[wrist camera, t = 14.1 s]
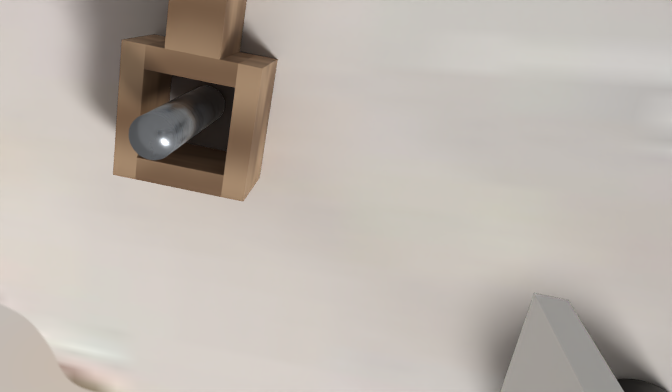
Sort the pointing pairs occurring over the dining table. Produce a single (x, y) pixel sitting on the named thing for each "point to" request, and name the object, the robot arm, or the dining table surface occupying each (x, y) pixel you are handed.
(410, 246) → the dining table surface
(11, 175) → the dining table surface
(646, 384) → the mug
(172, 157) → the link
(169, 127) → the pintle
